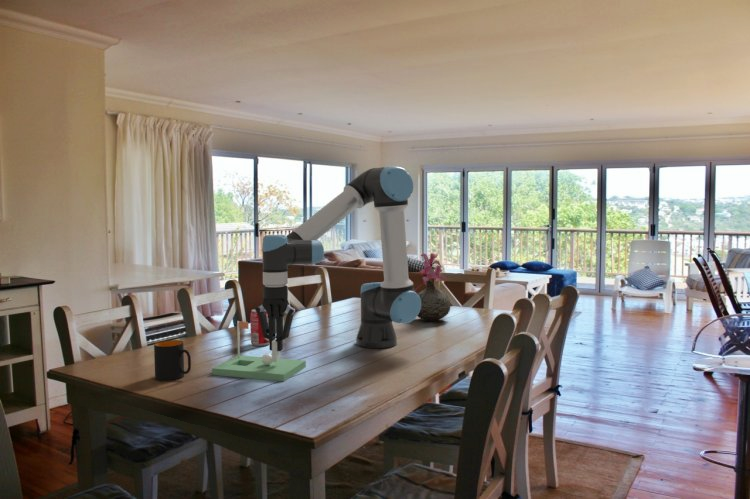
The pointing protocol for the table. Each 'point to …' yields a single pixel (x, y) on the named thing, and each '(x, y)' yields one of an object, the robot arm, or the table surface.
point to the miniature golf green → (257, 365)
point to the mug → (170, 360)
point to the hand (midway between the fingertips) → (276, 360)
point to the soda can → (257, 330)
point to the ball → (267, 359)
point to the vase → (432, 293)
